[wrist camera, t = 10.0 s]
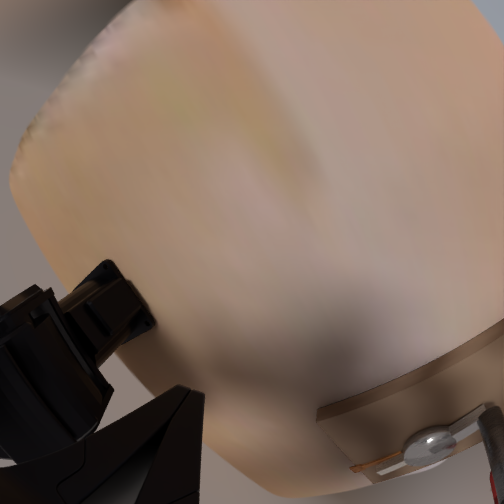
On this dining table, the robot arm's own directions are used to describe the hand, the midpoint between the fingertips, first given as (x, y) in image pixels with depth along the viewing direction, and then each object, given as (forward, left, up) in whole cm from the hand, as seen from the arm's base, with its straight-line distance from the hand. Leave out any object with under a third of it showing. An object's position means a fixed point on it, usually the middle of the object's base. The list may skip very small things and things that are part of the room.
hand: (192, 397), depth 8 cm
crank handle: (+4, -22, -10) cm, 24 cm away
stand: (+5, -20, -12) cm, 24 cm away
